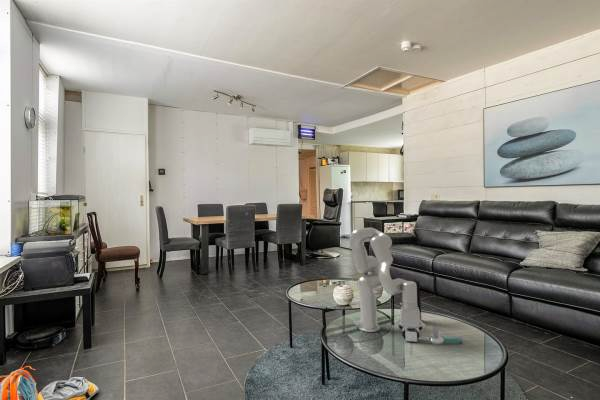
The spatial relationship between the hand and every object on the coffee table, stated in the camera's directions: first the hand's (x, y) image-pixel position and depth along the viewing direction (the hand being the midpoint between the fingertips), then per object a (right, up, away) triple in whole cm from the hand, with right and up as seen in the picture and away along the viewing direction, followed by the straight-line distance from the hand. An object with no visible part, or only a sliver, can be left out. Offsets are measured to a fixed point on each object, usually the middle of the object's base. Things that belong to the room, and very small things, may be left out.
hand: (410, 337), depth 176 cm
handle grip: (+12, -2, +27) cm, 30 cm away
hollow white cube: (0, -1, 0) cm, 1 cm away
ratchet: (+16, -1, -4) cm, 17 cm away
